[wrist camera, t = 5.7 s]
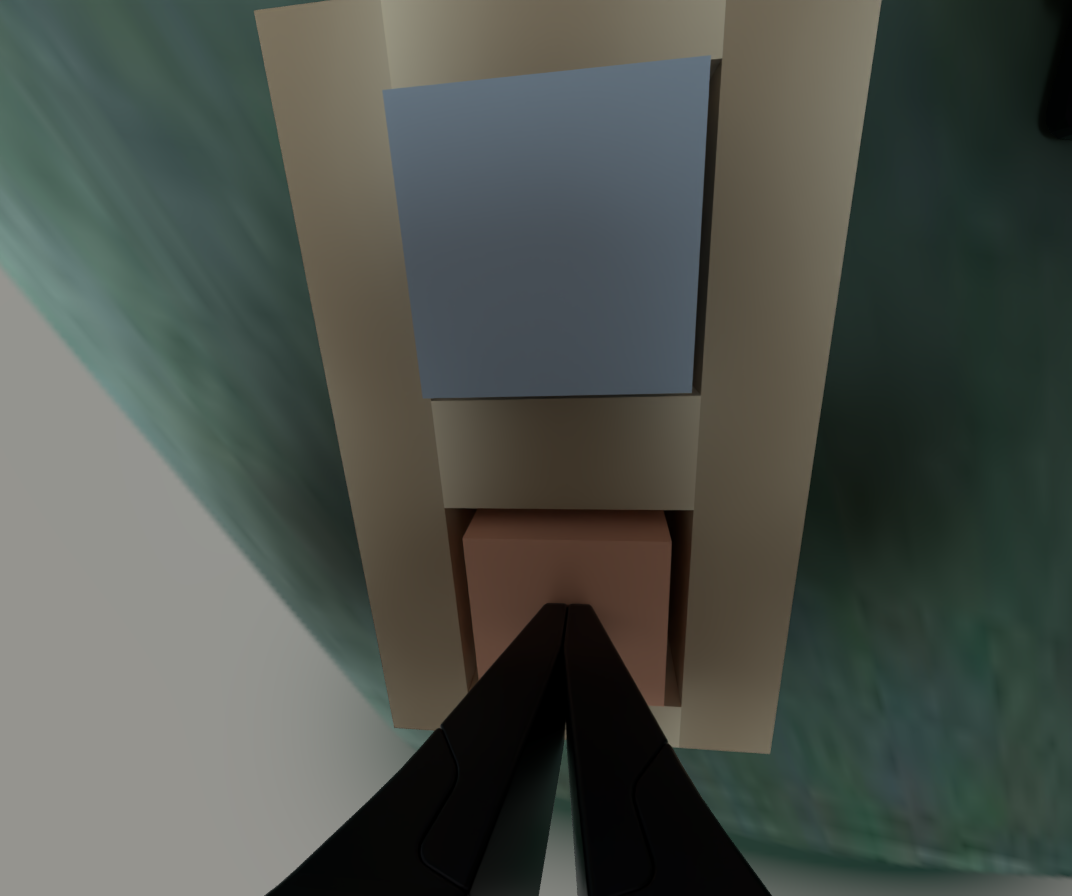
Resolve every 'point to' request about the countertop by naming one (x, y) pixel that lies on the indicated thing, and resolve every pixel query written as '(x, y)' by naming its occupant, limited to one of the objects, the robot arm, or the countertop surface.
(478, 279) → the light blue square block
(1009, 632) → the countertop surface
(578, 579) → the key terracotta
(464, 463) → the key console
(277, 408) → the countertop surface
